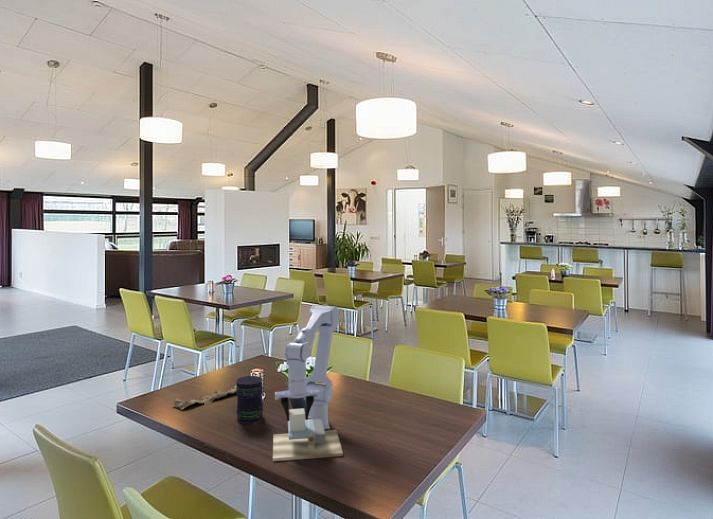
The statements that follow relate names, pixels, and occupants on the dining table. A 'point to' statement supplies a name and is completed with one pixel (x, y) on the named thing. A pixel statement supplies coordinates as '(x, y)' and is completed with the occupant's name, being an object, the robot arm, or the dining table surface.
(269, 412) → the dining table surface
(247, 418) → the storage jar
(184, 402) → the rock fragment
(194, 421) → the dining table surface
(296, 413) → the limestone block
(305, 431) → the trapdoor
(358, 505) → the dining table surface
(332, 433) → the beige slab
